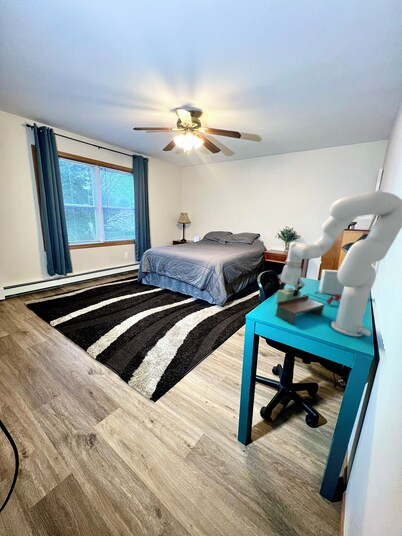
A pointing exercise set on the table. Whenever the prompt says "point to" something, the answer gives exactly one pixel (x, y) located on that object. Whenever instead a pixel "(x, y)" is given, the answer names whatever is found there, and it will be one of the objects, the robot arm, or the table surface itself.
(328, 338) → the table surface
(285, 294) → the tissue box
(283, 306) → the stand
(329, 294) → the glasses
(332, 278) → the skincare box
